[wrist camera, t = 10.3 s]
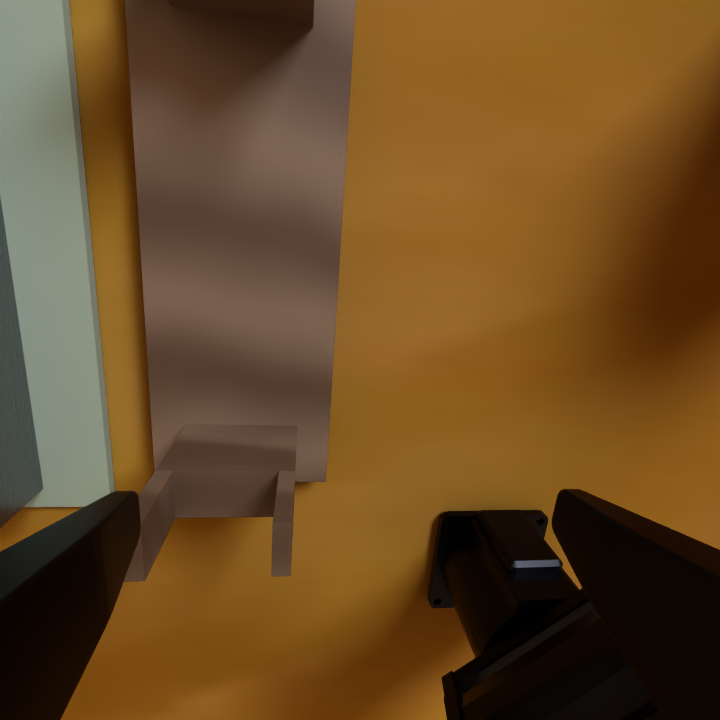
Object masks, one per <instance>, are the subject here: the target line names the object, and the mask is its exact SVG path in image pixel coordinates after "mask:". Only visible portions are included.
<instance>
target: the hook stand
mask: <svg viewBox="0 0 720 720" xmlns="http://www.w3.org/2000/svg"><path fill="white" fill-rule="evenodd" d="M355 4H356V0H125V14H126V30H127V46H128V61H129V77H130V93H131V109H132V125H133V140H134V156H135V172H136V188H137V204H138V219H139V235H140V251H141V267H142V282H143V298H144V314H145V330H146V346H147V361H148V377H149V393H150V409H151V425H152V440H153V456H154V473H153V475H152V476H151V478H150V479H149V481H148V482H147V484H146V485H145V487H144V488H143V490H142V491H141V493H140V494H139V496H138V497H139V507H140V520H141V533H140V538H139V541H138V544H137V547H136V550H135V552H134V555H133V558H132V560H131V563H130V566H129V569H128V571H127V574H126V577H125V579H124V582H131V581H145V580H146V578H147V576H148V574H149V571H150V569H151V567H152V565H153V563H154V561H155V559H156V557H157V555H158V553H159V551H160V548H161V546H162V544H163V542H164V540H165V538H166V536H167V534H168V532H169V530H170V528H171V525H172V523H173V521H174V519H175V518H210V517H273V533H272V574H271V577H276V576H290V575H291V554H292V533H293V512H294V492H295V482H326V467H327V451H328V435H329V419H330V403H331V387H332V371H333V355H334V339H335V323H336V307H337V291H338V275H339V259H340V243H341V227H342V211H343V195H344V179H345V163H346V147H347V131H348V115H349V99H350V83H351V67H352V51H353V35H354V19H355Z"/></svg>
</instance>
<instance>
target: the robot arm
mask: <svg viewBox="0 0 720 720" xmlns="http://www.w3.org/2000/svg"><path fill="white" fill-rule="evenodd" d="M539 518H540V519H539ZM450 519H451V521H450V522H448V523H446V522H447V521H448V520H450ZM538 519H539V520H538ZM537 520H538V521H537ZM547 524H548V518H547V516H546V515H545V514H544V513H543V512H542V511H540V510H481V511H448V512H445V513H443V514H442V515H441V516H440V519H439V525H438V531H437V538H436V544H435V551H434V558H433V564H432V571H431V578H430V584H429V591H428V601H429V604H430V605H431V607H433V608H451V607H455V609H456V611H457V614H458V616H459V619H460V621H461V624H462V626H463V629H464V631H465V633H466V636H467V638H468V641H469V643H470V646H471V648H472V651H473V653H474V655H475V659H473V660H471V661H470V662H468V663H467V664H465V665H464V666H462V667H461V668H459V669H458V670H456V671H455V672H452V671H450V672H449V673H447V674H446V675H444V676H443V677H442V683H443V690H444V703H445V709H446V716H447V720H720V550H719V549H716V548H714V547H712V546H709V545H707V544H705V543H703V542H700V541H698V540H696V539H693V538H691V537H689V536H686V535H684V534H682V533H679V532H677V531H675V530H673V529H670V528H668V527H666V526H663V525H661V524H659V523H656V522H654V521H652V520H649V519H647V518H645V517H643V516H640V515H638V514H636V513H633V512H631V511H629V510H626V509H624V508H622V507H619V506H617V505H615V504H613V503H610V502H608V501H606V500H603V499H601V498H599V497H596V496H594V495H592V494H589V493H587V492H585V491H582V490H580V489H563V490H561V491H560V492H559V493H558V496H557V500H556V504H555V508H554V512H553V516H552V528H553V532H554V534H555V536H556V538H557V540H558V542H559V543H560V545H561V547H562V549H563V551H564V553H565V555H566V557H567V559H568V561H569V563H570V565H571V567H572V569H573V571H574V573H575V575H576V577H577V578H578V580H579V582H580V584H581V586H582V589H580V590H579V589H578V587H577V586H576V585H575V583H574V582H573V581H572V580H571V578H570V577H569V576H568V575H567V573H566V572H565V571H564V570H563V568H562V565H563V563H562V561H561V560H560V559H559V557H558V556H557V555H556V554H555V552H554V551H553V550H552V549H551V547H550V546H549V545H548V544H547V542H546V541H545V540H544V537H545V532H546V528H547ZM140 533H141V520H140V507H139V497H138V494H137V493H136V492H135V491H114V492H111V493H110V494H108V495H106V496H104V497H102V498H100V499H98V500H96V501H95V502H93V503H91V504H89V505H87V506H85V507H83V508H81V509H80V510H78V511H76V512H74V513H72V514H70V515H68V516H66V517H65V518H63V519H61V520H59V521H57V522H55V523H53V524H52V525H50V526H48V527H46V528H44V529H42V530H40V531H38V532H37V533H35V534H33V535H31V536H29V537H27V538H25V539H23V540H22V541H20V542H18V543H16V544H14V545H12V546H10V547H8V548H7V549H5V550H3V551H1V552H0V720H60V719H61V717H62V715H63V713H64V711H65V709H66V707H67V705H68V703H69V701H70V699H71V697H72V695H73V693H74V691H75V689H76V687H77V685H78V683H79V681H80V679H81V677H82V675H83V673H84V671H85V668H86V666H87V664H88V662H89V660H90V658H91V656H92V654H93V652H94V650H95V648H96V646H97V644H98V642H99V640H100V638H101V636H102V634H103V632H104V630H105V627H106V625H107V623H108V621H109V619H110V616H111V614H112V611H113V609H114V606H115V604H116V601H117V598H118V596H119V593H120V590H121V587H122V585H123V582H124V579H125V577H126V574H127V571H128V569H129V566H130V563H131V560H132V558H133V555H134V552H135V550H136V547H137V544H138V541H139V538H140ZM436 598H438V599H436Z"/></svg>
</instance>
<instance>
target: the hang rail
mask: <svg viewBox="0 0 720 720" xmlns="http://www.w3.org/2000/svg"><path fill="white" fill-rule="evenodd" d="M42 489H43V482H42V475H41V468H40V462H39V455H38V448H37V441H36V435H35V428H34V421H33V414H32V407H31V401H30V394H29V387H28V380H27V373H26V367H25V360H24V353H23V346H22V340H21V333H20V326H19V319H18V312H17V306H16V299H15V292H14V285H13V279H12V272H11V265H10V258H9V251H8V245H7V238H6V231H5V224H4V217H3V211H2V204H1V197H0V528H1V527H2V526H3V525H4V524H5V523H6V522H8V521H9V520H10V519H11V518H12V517H13V516H14V515H15V514H16V513H17V512H18V511H19V510H20V509H22V508H23V507H24V506H25V505H26V504H27V503H28V502H29V501H30V500H31V499H32V498H33V497H34V496H36V495H37V494H38V493H39V492H40V491H41V490H42Z"/></svg>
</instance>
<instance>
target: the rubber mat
mask: <svg viewBox="0 0 720 720" xmlns="http://www.w3.org/2000/svg"><path fill="white" fill-rule="evenodd" d="M0 197H1V204H2V211H3V217H4V224H5V231H6V238H7V245H8V251H9V258H10V265H11V272H12V279H13V285H14V292H15V299H16V306H17V312H18V319H19V326H20V333H21V340H22V346H23V353H24V360H25V367H26V373H27V380H28V387H29V394H30V401H31V407H32V414H33V421H34V428H35V435H36V441H37V448H38V455H39V462H40V468H41V475H42V482H43V489H42V490H41V491H40V492H39V493H38V494H37V495H36V496H34V497H33V498H32V499H31V500H30V501H29V502H28V503H27V504H26V505H25V506H24V507H85V506H87V505H89V504H91V503H93V502H95V501H96V500H98V499H100V498H102V497H104V496H106V495H108V494H110V493H111V492H114V491H115V487H114V477H113V466H112V455H111V445H110V434H109V423H108V413H107V402H106V391H105V381H104V370H103V359H102V349H101V338H100V327H99V317H98V306H97V295H96V285H95V274H94V263H93V252H92V242H91V231H90V220H89V210H88V199H87V188H86V178H85V167H84V156H83V146H82V135H81V124H80V114H79V103H78V92H77V82H76V71H75V60H74V50H73V39H72V28H71V18H70V7H69V0H0Z"/></svg>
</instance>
